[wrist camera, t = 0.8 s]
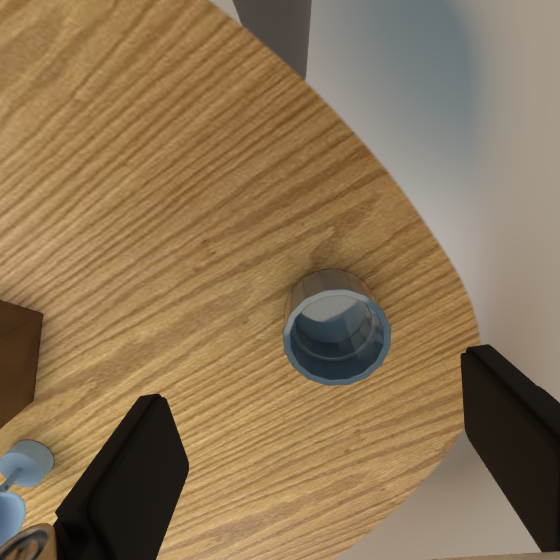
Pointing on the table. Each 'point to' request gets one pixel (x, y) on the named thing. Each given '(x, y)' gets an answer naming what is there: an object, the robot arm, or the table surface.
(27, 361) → the stand
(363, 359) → the small cup
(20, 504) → the spotlight
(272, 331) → the table surface
